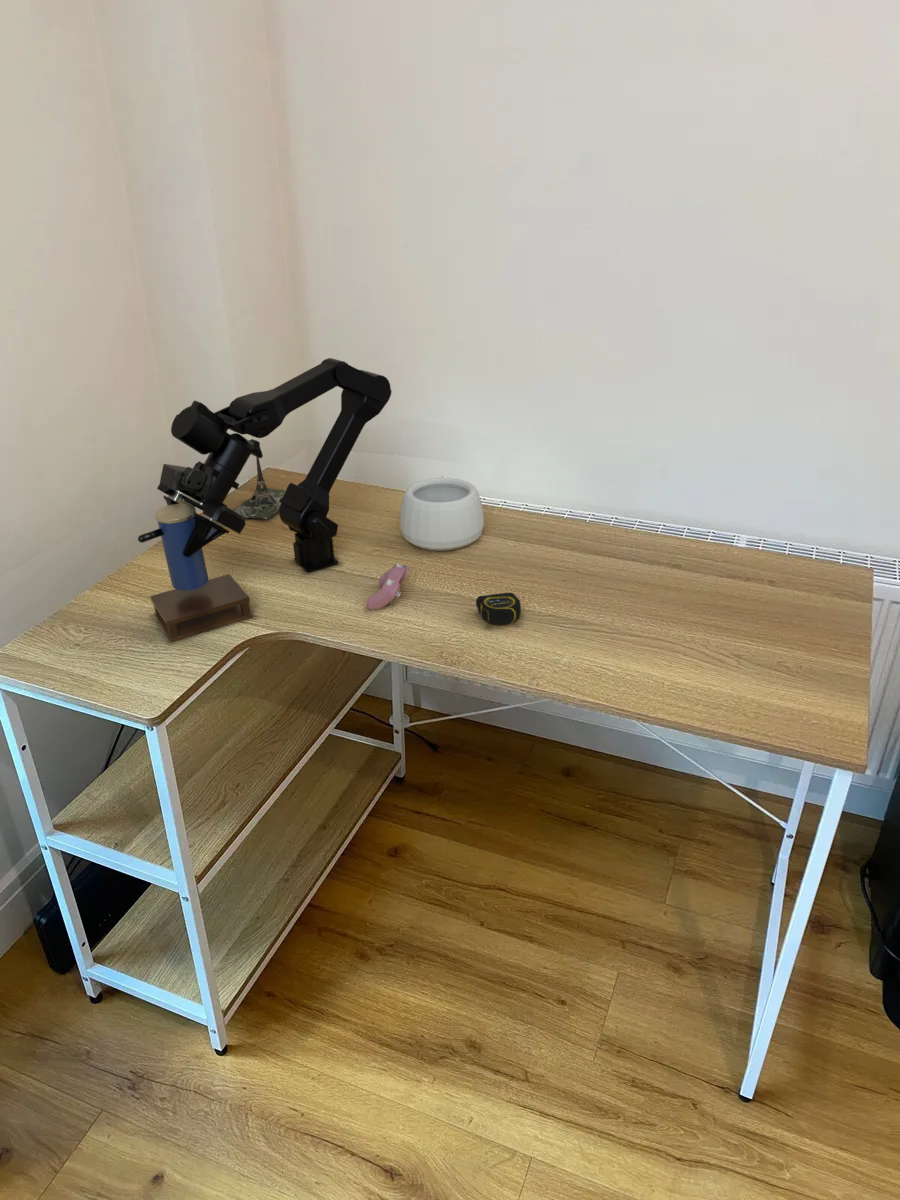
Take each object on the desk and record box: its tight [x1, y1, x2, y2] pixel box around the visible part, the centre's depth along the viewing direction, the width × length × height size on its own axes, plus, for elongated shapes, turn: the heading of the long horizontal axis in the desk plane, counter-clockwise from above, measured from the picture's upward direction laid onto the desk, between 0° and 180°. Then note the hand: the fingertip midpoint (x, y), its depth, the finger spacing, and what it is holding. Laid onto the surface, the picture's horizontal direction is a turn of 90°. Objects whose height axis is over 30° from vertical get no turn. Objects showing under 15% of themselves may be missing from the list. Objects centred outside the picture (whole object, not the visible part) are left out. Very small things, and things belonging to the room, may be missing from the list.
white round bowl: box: [399, 476, 485, 552], centre depth 172 cm, size 21×17×10 cm
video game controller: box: [365, 563, 409, 611], centre depth 150 cm, size 10×5×7 cm, turn 168°
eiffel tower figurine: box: [233, 456, 286, 520], centre depth 184 cm, size 15×10×13 cm
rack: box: [149, 573, 253, 643], centre depth 146 cm, size 14×10×4 cm
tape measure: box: [475, 592, 522, 626], centre depth 143 cm, size 7×7×4 cm
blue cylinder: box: [137, 504, 209, 591], centre depth 141 cm, size 10×6×13 cm, turn 134°
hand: (175, 549), depth 141 cm, fingers closed on blue cylinder, 6 cm apart
